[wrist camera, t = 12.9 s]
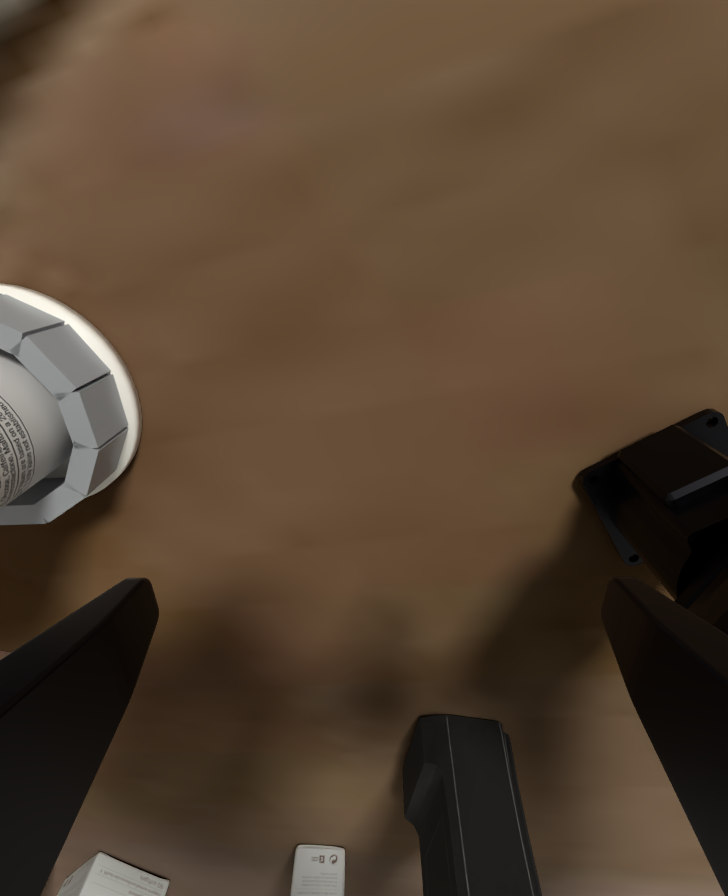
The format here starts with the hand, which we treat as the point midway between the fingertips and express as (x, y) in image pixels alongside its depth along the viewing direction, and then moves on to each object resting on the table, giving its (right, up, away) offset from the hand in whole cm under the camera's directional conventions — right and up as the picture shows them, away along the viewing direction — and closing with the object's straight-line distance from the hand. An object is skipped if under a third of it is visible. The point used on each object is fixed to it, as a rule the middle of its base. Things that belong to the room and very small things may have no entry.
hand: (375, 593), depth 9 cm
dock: (-16, +5, +12) cm, 21 cm away
